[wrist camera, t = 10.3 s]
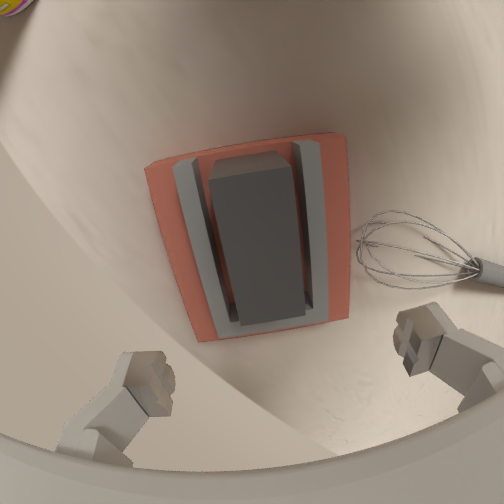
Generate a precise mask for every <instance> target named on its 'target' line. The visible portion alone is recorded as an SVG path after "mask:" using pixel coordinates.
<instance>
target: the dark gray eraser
mask: <svg viewBox="0 0 504 504" xmlns="http://www.w3.org/2000/svg"><path fill="white" fill-rule="evenodd" d="M208 183H209V188H210V193H211V198H212V202H213V207H214V212H215V216H216V221H217V225H218V230H219V234H220V239H221V243H222V248H223V252H224V257H225V261H226V265H227V270H228V274H229V278H230V283H231V287H232V291H233V295H234V300H235V304H236V308H237V312H238V316H239V320H240V325H241V326H246V325H252V324H259V323H265V322H271V321H277V320H283V319H289V318H295V317H300V316H306V311H305V296H304V283H303V270H302V258H301V247H300V236H299V226H298V216H297V207H296V198H295V189H294V181H293V172H292V166H291V165H290V164H289V163H288V162H287V161H286V160H285V159H284V158H283V157H282V156H281V155H280V154H279V153H278V152H277V151H276V150H274V151H267V152H260V153H254V154H248V155H242V156H236V157H230V158H224V159H219V160H216V161H215V164H214V166H213V169H212V171H211V173H210V176H209V179H208Z"/></svg>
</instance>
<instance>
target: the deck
mask: <svg viewBox="0 0 504 504" xmlns="http://www.w3.org/2000/svg"><path fill="white" fill-rule="evenodd" d="M274 150H276V151H277V152H278V153H279V154H280V155H281V156H282V157H283V158H284V159H285V160H286V161H287V162H288V163H289V164H290V165H291V166H292V172H293V181H294V189H295V198H296V207H297V216H298V226H299V236H300V247H301V258H302V270H303V283H304V296H305V311H306V316H300V317H295V318H289V319H283V320H277V321H271V322H265V323H259V324H252V325H246V326H241V325H240V320H239V316H238V312H237V308H236V304H235V300H234V295H233V291H232V287H231V283H230V278H229V274H228V270H227V265H226V261H225V257H224V252H223V248H222V243H221V239H220V234H219V230H218V225H217V221H216V216H215V212H214V207H213V202H212V198H211V193H210V188H209V183H208V179H209V176H210V173H211V171H212V169H213V166H214V164H215V161H216V160H219V159H224V158H230V157H236V156H242V155H248V154H254V153H260V152H267V151H274ZM144 170H145V174H146V178H147V182H148V186H149V190H150V193H151V197H152V201H153V205H154V208H155V212H156V216H157V219H158V223H159V226H160V230H161V233H162V236H163V240H164V243H165V246H166V250H167V253H168V256H169V259H170V262H171V266H172V269H173V272H174V275H175V278H176V281H177V284H178V287H179V290H180V293H181V296H182V299H183V302H184V304H185V307H186V310H187V313H188V316H189V318H190V321H191V324H192V327H193V329H194V332H195V335H196V337H197V340H198V342H206V341H214V340H222V339H230V338H238V337H245V336H252V335H258V334H265V333H271V332H277V331H283V330H289V329H295V328H300V327H306V326H311V325H316V324H321V323H326V322H331V321H336V320H341V319H346V318H348V317H349V297H350V251H351V245H350V198H349V178H348V163H347V150H346V138H345V136H343V135H340V134H336V133H321V134H310V135H301V136H292V137H284V138H276V139H269V140H262V141H255V142H249V143H242V144H236V145H231V146H225V147H220V148H214V149H209V150H204V151H199V152H194V153H190V154H185V155H180V156H176V157H172V158H167V159H163V160H159V161H155V162H154V163H152V164H151V165H149V166H148V167H146V168H145V169H144Z"/></svg>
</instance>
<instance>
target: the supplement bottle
mask: <svg viewBox="0 0 504 504" xmlns="http://www.w3.org/2000/svg"><path fill="white" fill-rule="evenodd" d="M32 1H33V0H0V15H1V16H12V15H15V14H17V13H19V12H21V11H22V10H23V9H25V8H26V7H27V6H28V5H29V4H30V3H31V2H32Z"/></svg>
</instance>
